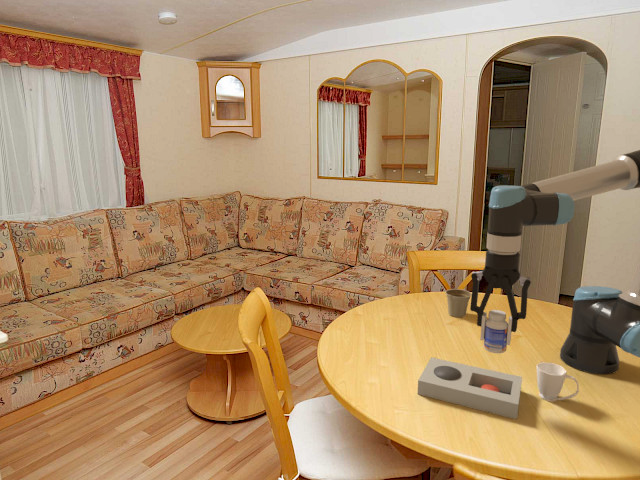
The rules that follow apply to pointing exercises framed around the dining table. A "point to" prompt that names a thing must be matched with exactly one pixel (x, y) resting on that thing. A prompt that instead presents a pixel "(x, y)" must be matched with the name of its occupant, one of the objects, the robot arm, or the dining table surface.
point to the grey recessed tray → (471, 387)
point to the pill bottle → (496, 332)
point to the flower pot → (457, 302)
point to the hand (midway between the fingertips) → (495, 340)
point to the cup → (552, 381)
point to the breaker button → (490, 387)
